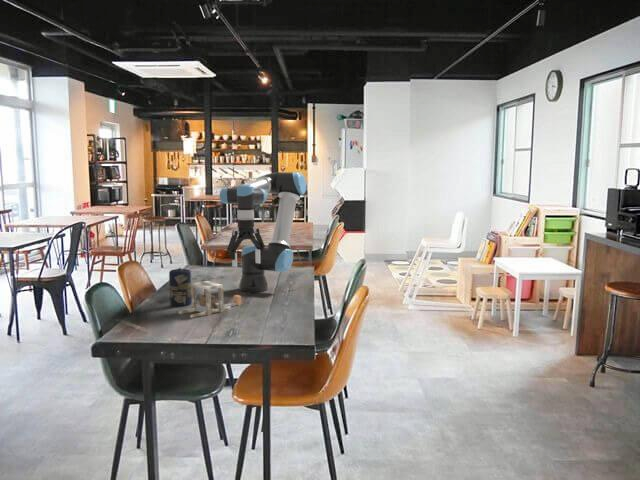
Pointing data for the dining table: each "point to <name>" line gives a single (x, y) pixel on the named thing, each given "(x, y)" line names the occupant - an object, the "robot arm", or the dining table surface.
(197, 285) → the cream wooden rail frame
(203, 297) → the block
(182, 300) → the canister
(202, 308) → the orange and grey bar
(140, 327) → the dining table surface
